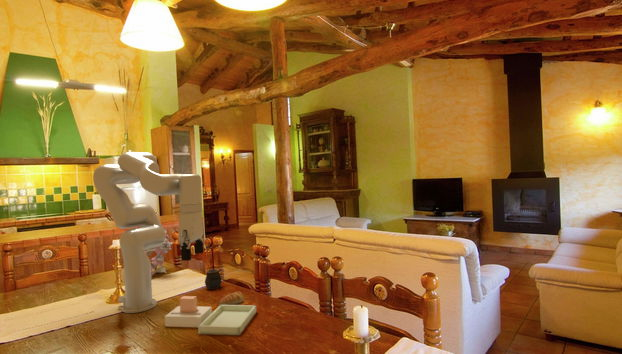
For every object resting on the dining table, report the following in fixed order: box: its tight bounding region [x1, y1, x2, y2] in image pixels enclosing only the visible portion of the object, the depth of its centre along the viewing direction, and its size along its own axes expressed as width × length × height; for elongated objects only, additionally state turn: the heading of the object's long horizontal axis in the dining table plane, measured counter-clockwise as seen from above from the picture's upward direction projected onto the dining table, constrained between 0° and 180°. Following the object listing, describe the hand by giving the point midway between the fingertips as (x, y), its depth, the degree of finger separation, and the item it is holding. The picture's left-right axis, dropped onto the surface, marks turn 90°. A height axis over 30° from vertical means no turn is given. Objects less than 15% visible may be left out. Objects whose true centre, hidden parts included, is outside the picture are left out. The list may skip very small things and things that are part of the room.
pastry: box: [218, 291, 245, 306], centre depth 139 cm, size 9×7×4 cm
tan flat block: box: [179, 295, 198, 313], centre depth 123 cm, size 5×2×8 cm, turn 82°
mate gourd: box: [204, 268, 222, 290], centre depth 157 cm, size 7×8×10 cm
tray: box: [197, 304, 257, 336], centre depth 120 cm, size 14×18×2 cm
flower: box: [145, 228, 174, 277], centre depth 180 cm, size 20×22×25 cm
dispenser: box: [164, 305, 213, 328], centre depth 123 cm, size 13×9×4 cm
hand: (192, 256), depth 123 cm, fingers open, 9 cm apart
